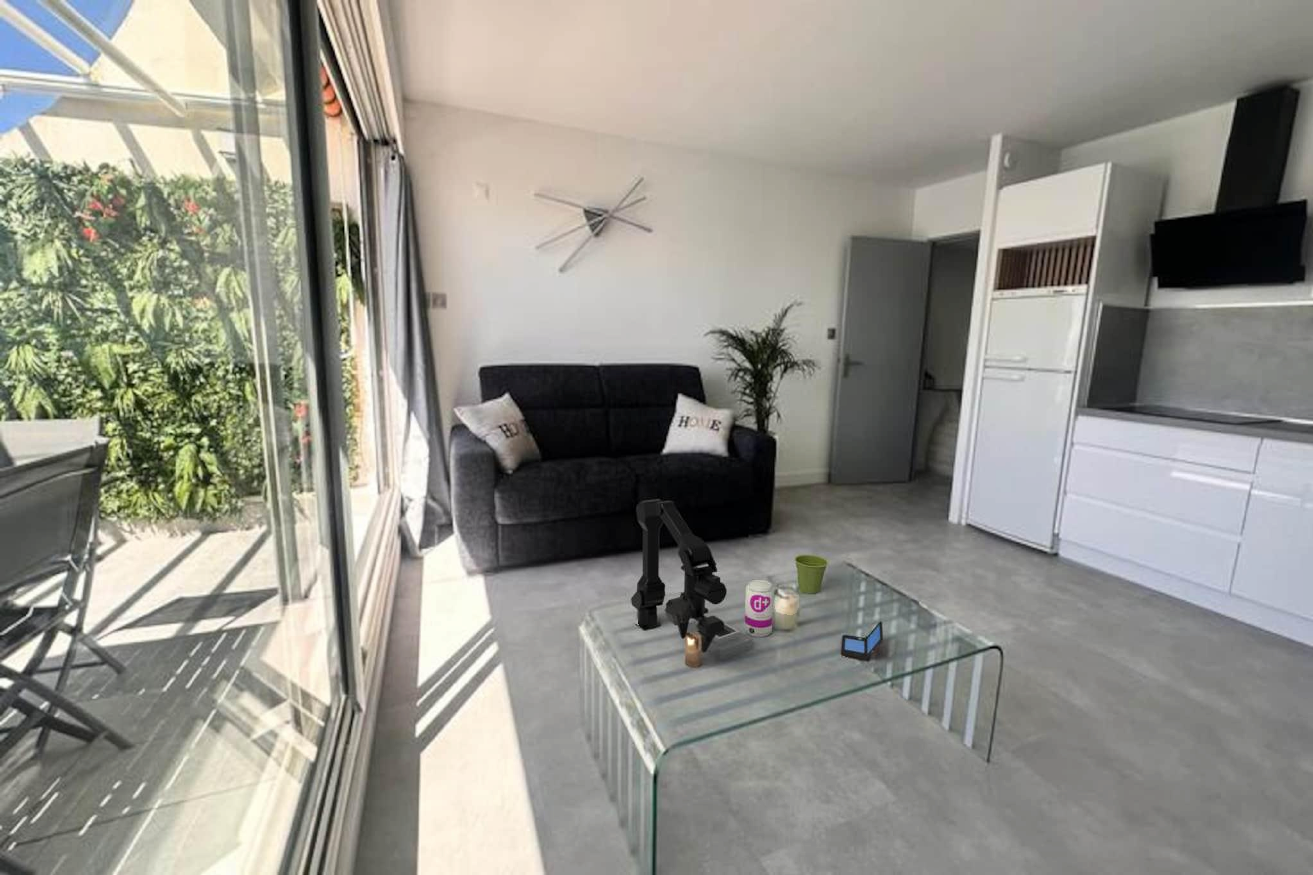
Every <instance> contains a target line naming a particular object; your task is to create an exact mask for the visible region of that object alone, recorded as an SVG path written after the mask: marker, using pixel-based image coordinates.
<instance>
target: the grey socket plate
mask: <svg viewBox="0 0 1313 875" xmlns="http://www.w3.org/2000/svg"><path fill="white" fill-rule="evenodd" d="M710 616H711V615H709V616H708V617H710ZM698 623H699V622H698V621H697V620H694V621H693V620H692V621H689V624H688V629H687V633H688V632H697V631H699V629H698ZM753 643H754V641H753V638H752V637H750V636H748V635H746V634H744V633H743V632H742V631H739V630H738V629H736V628H734V627H732V626H731V625H729V624H728V623H726V622H724V631H722V632H719V633H717V634H716V636H715V637H714V638H713V640H712V642H711V644H710V646H709V647H708V649H707V651H706V652H705V653H708V654H709V655H710V656H712V657H714V658H715V659H717V660H718V661H723V660H726V659H729V658H731V657H734V656H737V655H739V654H742V653H745V652H748V651H750V650H753Z"/></svg>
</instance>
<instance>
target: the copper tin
mask: <svg viewBox="0 0 1313 875" xmlns="http://www.w3.org/2000/svg"><path fill="white" fill-rule="evenodd" d="M684 639H685V641H684V642H685V643H684V664H685V665H686V667H688V668H691V669H692V668H693V669H695V668H699V667H701V665H702V654H703V652H702V647H701V635H700V634H699V633H698V632H688V633H686V635H685V638H684Z"/></svg>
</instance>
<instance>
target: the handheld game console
mask: <svg viewBox="0 0 1313 875" xmlns="http://www.w3.org/2000/svg"><path fill="white" fill-rule="evenodd" d="M883 640H884V631H883V622H882V621H879V622H878V623H877V624H876V625H875V627H874V628H873V629H872V630H871V631H870V632H869V634H868V635H866V636H865V637H862V636H856V635H850V634H842V635H841V644H840V645H841V647H840V655H842V656H841V657H843V656H845V657H844V658H846V657H848V658H847V659H852V658H853V660H859V661H863V662H864V661H865V662H870V657H871V656H872V654H873V653H874V652H875V651H876V649H878V647H879V646H880V645H881V644H882V642H883Z"/></svg>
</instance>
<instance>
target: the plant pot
mask: <svg viewBox="0 0 1313 875" xmlns="http://www.w3.org/2000/svg"><path fill="white" fill-rule="evenodd" d="M793 560H794V562H795V567H796V569H797V570H796V572H797V580H798V583H797V584H798V588H799V590H800V592H802V593H803V594H804V593H805V594H809V595H812V594H819V593H820V591H821V587H822V584H823V579H824V575H825V572H826V569H827V566H828V565H829V561H828V560H827V559H825V558H824V557H821V556H818V555H811V554H802V555H801V554H800V555H797V556H795V557H794V559H793Z"/></svg>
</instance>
